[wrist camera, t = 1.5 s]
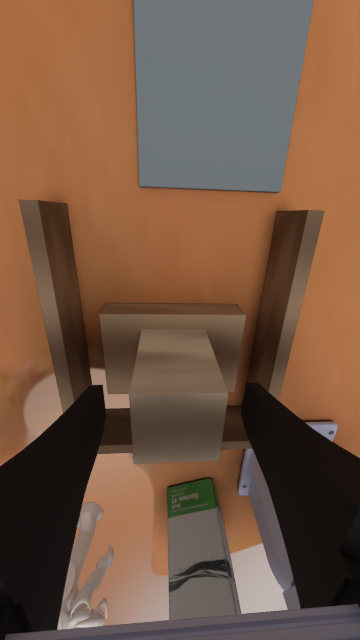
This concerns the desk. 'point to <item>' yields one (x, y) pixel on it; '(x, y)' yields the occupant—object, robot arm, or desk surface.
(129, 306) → the walnut open-sided frame
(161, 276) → the desk surface
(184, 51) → the slate mat
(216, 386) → the maple block
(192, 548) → the ink box
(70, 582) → the white figurine
